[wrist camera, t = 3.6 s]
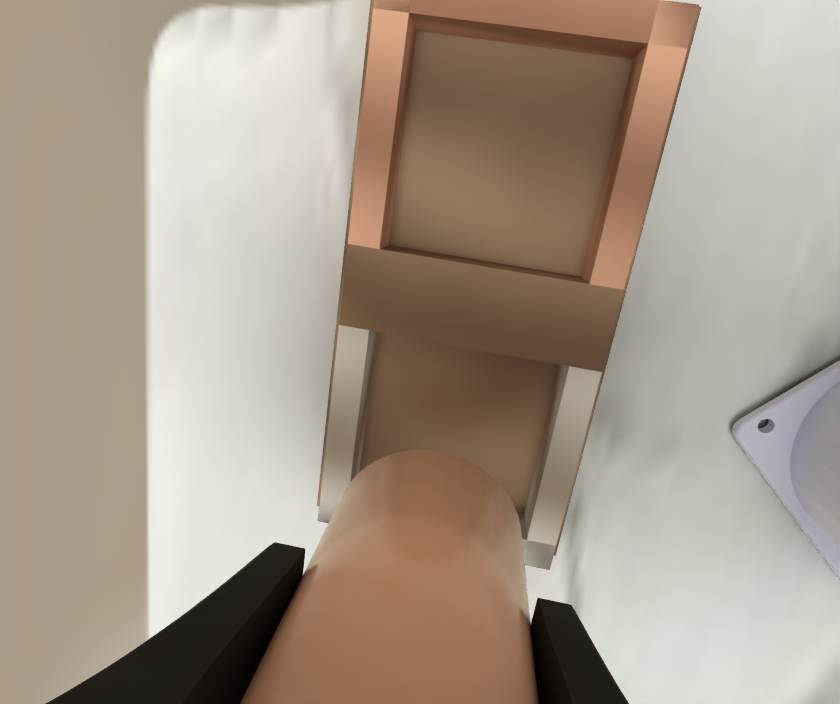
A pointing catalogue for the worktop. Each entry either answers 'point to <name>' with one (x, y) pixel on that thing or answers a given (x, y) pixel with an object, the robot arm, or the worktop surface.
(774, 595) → the worktop surface
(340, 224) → the worktop surface
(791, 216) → the worktop surface
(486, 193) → the tray
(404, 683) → the tube
